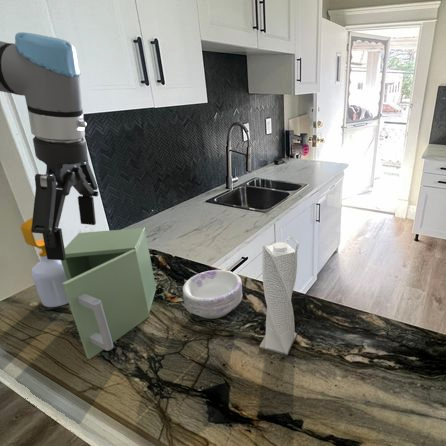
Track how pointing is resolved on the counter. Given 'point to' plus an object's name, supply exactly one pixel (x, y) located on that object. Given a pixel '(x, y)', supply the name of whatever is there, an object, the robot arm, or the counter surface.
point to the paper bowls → (212, 293)
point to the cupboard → (109, 254)
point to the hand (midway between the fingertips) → (74, 239)
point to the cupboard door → (107, 302)
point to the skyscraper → (279, 295)
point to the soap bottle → (46, 272)
